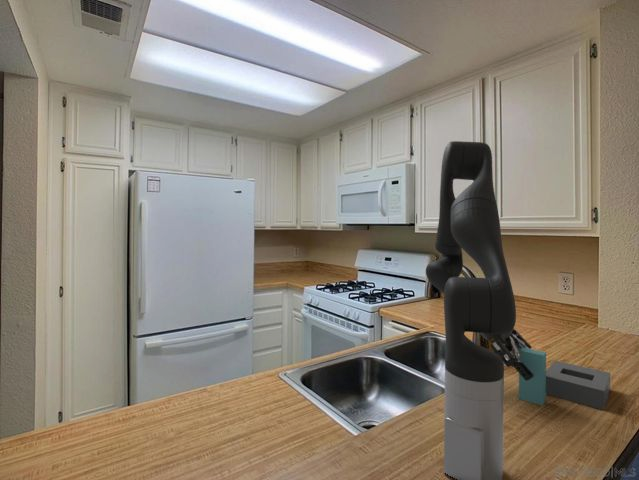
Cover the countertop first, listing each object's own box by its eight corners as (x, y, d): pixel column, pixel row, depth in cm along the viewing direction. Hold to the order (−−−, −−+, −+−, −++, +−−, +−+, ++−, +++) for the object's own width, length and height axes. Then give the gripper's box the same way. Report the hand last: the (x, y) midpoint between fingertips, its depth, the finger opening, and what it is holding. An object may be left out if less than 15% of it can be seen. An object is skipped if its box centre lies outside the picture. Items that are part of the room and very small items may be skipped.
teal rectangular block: (542, 405, 80) (543, 355, 80) (518, 398, 84) (519, 350, 83) (545, 401, 82) (546, 352, 82) (522, 394, 86) (522, 347, 85)
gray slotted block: (604, 410, 78) (604, 391, 78) (542, 392, 86) (543, 375, 86) (610, 390, 88) (610, 372, 88) (554, 376, 96) (554, 360, 96)
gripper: (487, 314, 83) (541, 374, 75) (505, 305, 93) (554, 357, 85) (464, 331, 87) (514, 390, 79) (484, 320, 97) (530, 372, 89)
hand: (535, 373), depth 82 cm, fingers open, 8 cm apart
